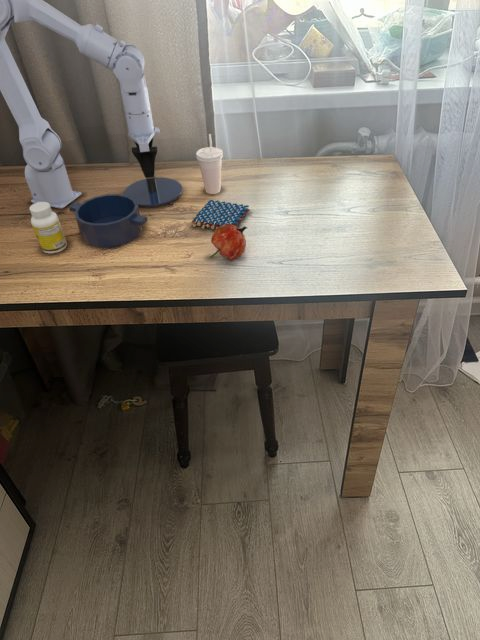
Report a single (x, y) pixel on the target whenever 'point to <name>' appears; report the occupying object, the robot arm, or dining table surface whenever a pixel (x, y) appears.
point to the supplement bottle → (47, 228)
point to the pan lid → (154, 191)
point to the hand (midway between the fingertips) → (148, 169)
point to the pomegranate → (229, 241)
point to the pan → (108, 220)
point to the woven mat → (220, 214)
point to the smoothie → (210, 167)
